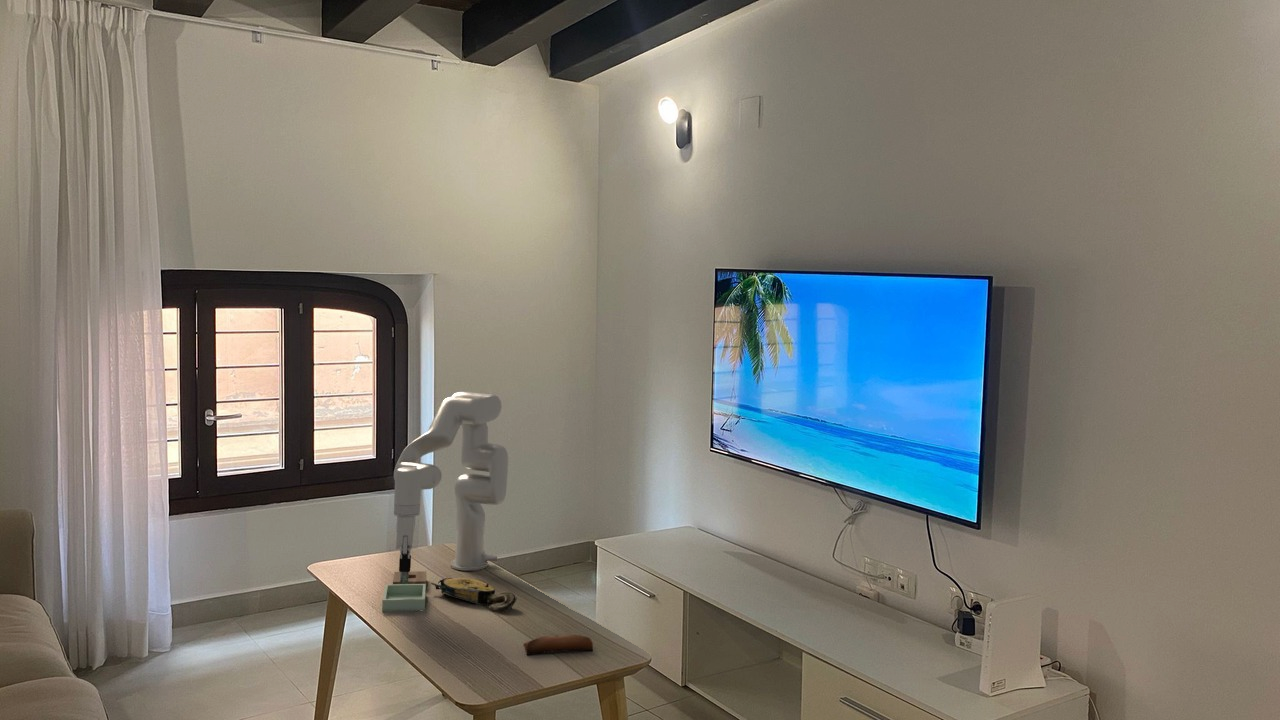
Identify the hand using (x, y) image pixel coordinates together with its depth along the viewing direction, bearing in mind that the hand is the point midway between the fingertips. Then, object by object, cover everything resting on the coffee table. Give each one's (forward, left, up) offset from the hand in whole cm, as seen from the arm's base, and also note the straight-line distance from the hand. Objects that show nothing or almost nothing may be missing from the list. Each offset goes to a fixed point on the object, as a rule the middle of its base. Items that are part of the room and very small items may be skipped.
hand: (404, 569), depth 284 cm
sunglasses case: (-42, +38, -11) cm, 57 cm away
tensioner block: (-1, -16, -10) cm, 19 cm away
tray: (0, 0, -10) cm, 10 cm away
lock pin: (0, 0, -4) cm, 4 cm away
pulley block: (-22, -2, -11) cm, 24 cm away
